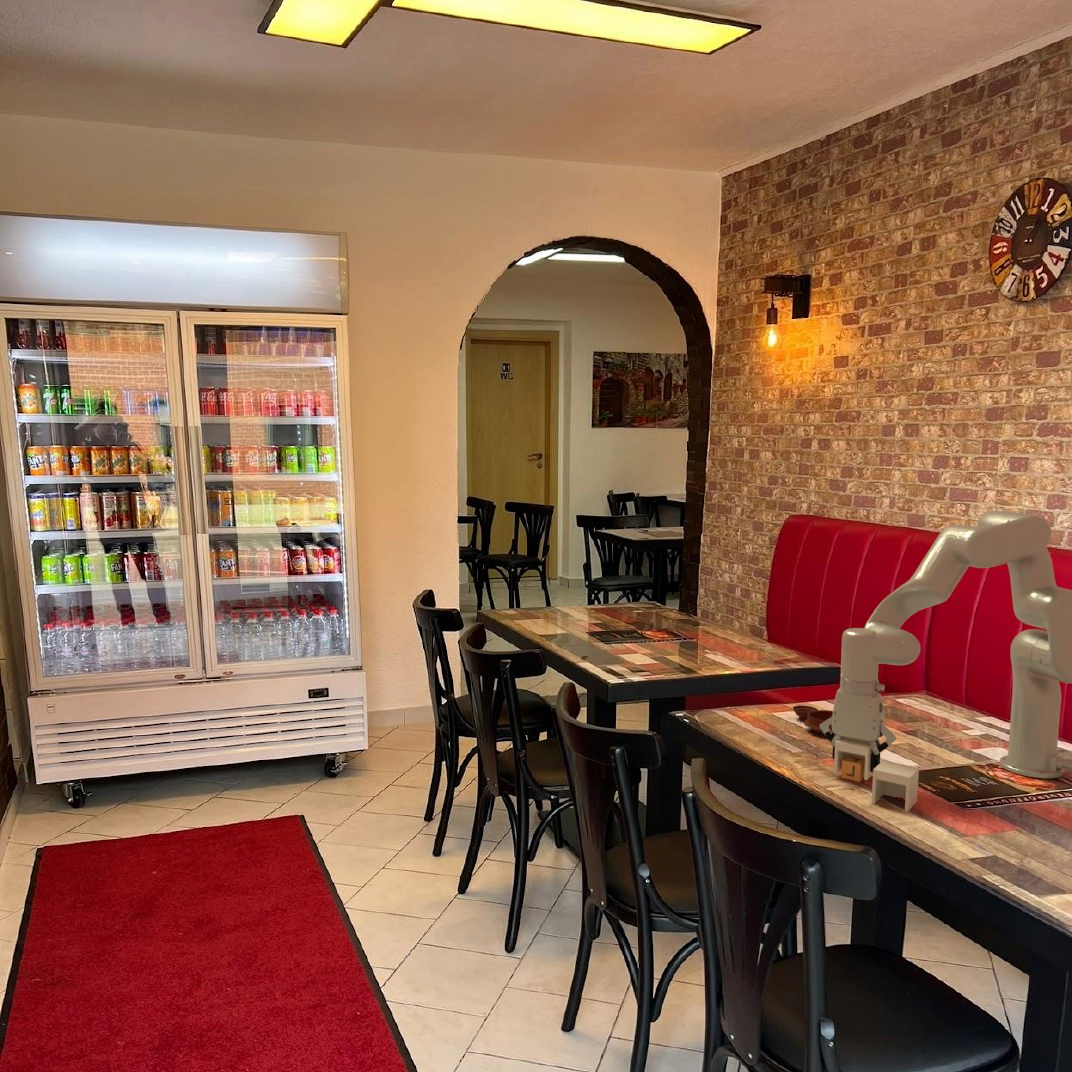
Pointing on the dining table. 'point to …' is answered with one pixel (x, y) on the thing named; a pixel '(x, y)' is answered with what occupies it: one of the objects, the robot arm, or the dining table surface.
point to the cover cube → (853, 753)
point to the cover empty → (895, 782)
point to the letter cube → (853, 768)
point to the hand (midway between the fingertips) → (855, 766)
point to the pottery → (813, 717)
